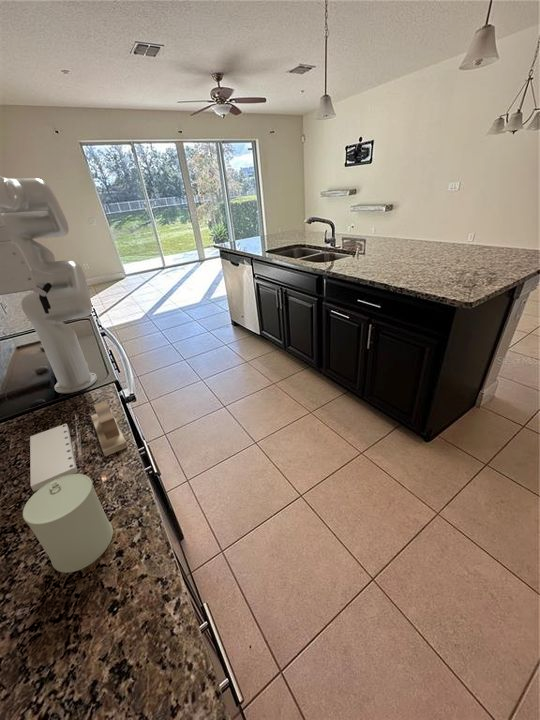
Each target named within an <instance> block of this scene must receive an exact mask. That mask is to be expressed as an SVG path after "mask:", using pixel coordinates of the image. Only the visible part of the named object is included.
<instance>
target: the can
mask: <svg viewBox="0 0 540 720" xmlns="http://www.w3.org/2000/svg"><path fill="white" fill-rule="evenodd" d="M22 518H23V520H24V521H25V523H26V524H27V525H28V527H29V528H30V529H31V531H32V533H33V534H34V536H35V537H36V539H37V540H38V542H39V543H40V545H41V546H42V548H43V549H44V552H45V553H46V554H47V556H48V558H49V559H50V560H49V561H51V565H52V567H53V568H54V570H56V571H57V572H59V573H65V574H67V573H74V572H77V571H81V570H82V569H85V568H86V567H88V566H90V565H91V564H93V563H94V562H96V561H97V560H98V559H99V558H100V557H101V556H103V554H104V553H105V551H106V550H107V549H108V547H109V546H110V544H111V541H112V538H113V535H114V530H113V525H112V524H111V522H110V521H109V519H108V517H107V515H106V513H105V511H104V508H103V506H102V504H101V502H100V499H99V497H98V494H97V492H96V490H95V487H94V485H93V482H92V479H91V478H90V477H89V476H88V475H85V474H81V473H75V474H71V475H66V476H63V477H60V478H58V479H55V480H53V481H51V482H50V483H48V484H46V485H45V486H43V487H42V488H40V489H38V490H36V491H35V492H34V493H33V494H32V495H31V497H30V498H29V499H28V500H27V501H26V503H25V505H24V507H23V510H22Z"/></svg>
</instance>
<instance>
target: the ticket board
mask: <svg viewBox="0 0 540 720" xmlns="http://www.w3.org/2000/svg"><path fill="white" fill-rule="evenodd" d="M29 440H30V441H29V447H30V448H29V449H30V450H29V451H30V453H29V454H30V455H29V457H30V458H29V460H30V462H29V463H30V468H29V469H30V470H29V471H30V474H29V475H30V476H29V477H30V488H31V490H32V491H33V492H34V493H35V492H37V491H38V490H39V489H40V488H42V487H43V486H45V485H46V484H48V483H50V482H51V481H53V480H55V479H58V478H60V477H63V476H66V475H71V474H78V468H77V464H76V463H77V462H76V459H75V454H74V453H75V452H74V448H73V443H72V438H71V434H70V428H69V426H68V424H67V423H63V424H62V425H58V426H56V427H52V428H50V429H48V430H45V431H42V432H38V433H36V434H32V435H30V436H29Z"/></svg>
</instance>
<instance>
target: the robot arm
mask: <svg viewBox="0 0 540 720" xmlns="http://www.w3.org/2000/svg"><path fill="white" fill-rule="evenodd" d="M58 201H59V200H58V199H57V197H56V195H55V193H54V191H53V190H52V188H51V187H50V186H49V184H47V182H45V181H44V180H43V179H42V178H41V179H40V178H38V177H36V178H35V177H33V178H30V177H28V178H27V177H26V178H18V177H17V178H7V177H3V176H2V175H0V296H4V295H11V294H17V293H24V292H29V291H30V292H31V293H29V294H26V295H25V296H23V297H22V299H21V303H20V304H21V309H22V311H23V313H24V315H25V316H26V319H28V321H29V322H30V324H31V326H32V327H33V329H34V330H35V332H36V335H37V337H38V339H39V341H40V343H41V346H42V348H43V350H44V353H45V355H46V357H47V360H48V362H49V364H50V367H51V369H52V371H53V373H54V376H55V378H56V381H57V382H56V384H55V385H54V392H55V391H56V392H57V393H58V394H59V393H60V394H72V393H76V392H79V391H82V390H85V389H87V388H88V387H91V386H92V385H94V384H95V383H96V382H97V380H98V376H97V374H96V373H95V372H90V369H89V363H88V362H86V358H85V356H84V352H83V349H82V347H81V345H80V343H79V339H78V337H77V334H76V332H75V331H74V329H73V328H72V327H70V326H69V325H67V324H66V323H64V322H65V321H71V320H77V319H83V318H86V317H88V316H91V314H92V312H93V305H92V300H91V295H90V291H89V287H88V283H87V278H86V276H85V272H84V270H83V268H82V266H81V265H80V264H79V263H78V262H77V261H74V260H67V259H66V260H57V261H56V258H55V257H56V256H55V254H54V253H53V252H52V250H50V249H49V248H48V247H46V246H45V245H43V244H41V243H40V242H38V241H36V240H35V239H39V240H40V239H48V238H50V239H52V238H61V237H65V236H67V235H68V233H69V228H70V227H69V223H68V220H67V218H66V216H65V214H64V213H63V209H62V208H61V205H60V203H59V202H58Z"/></svg>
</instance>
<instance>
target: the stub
mask: <svg viewBox="0 0 540 720" xmlns="http://www.w3.org/2000/svg"><path fill="white" fill-rule="evenodd" d="M93 407H94V409H95V413H94V414H92V415H90V417H91V420H92V422H93V426H94V429H95V432H96V435H97V438H98V441H99V444H100V447H101V450H102V453H103V456H104V457H108V456H110V455H112V454H114V453H116V452H117V453H118V452H119V451H122V450H124V449H126V448H128V444H127V442H126V439H125V437H124V434H123V433H122V431H121V429H120V428H121V427H120V426H119V424H118V421H117V420H116V418H115V416H114V413H113V411H112V409H111V408H110V405H109V404H108V401H107V400H104V401H101V402H98V403H95V404H93Z"/></svg>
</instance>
